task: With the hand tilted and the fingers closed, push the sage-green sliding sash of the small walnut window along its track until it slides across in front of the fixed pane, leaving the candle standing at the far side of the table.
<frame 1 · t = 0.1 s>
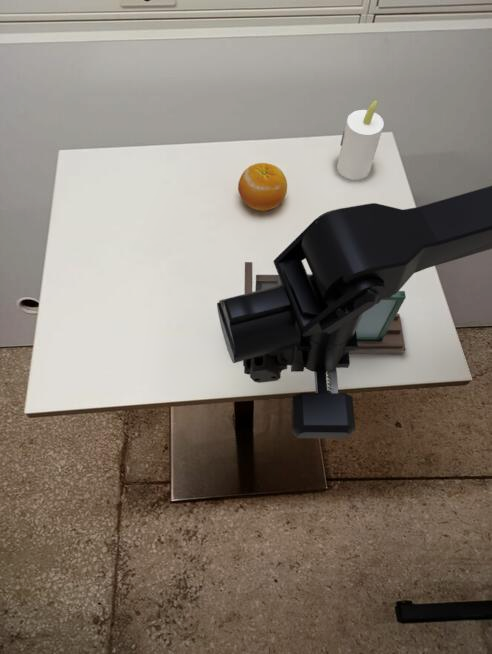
hand: (309, 380, 62), 12 cm above the table, tool pointing down, fingers open, 9 cm apart
fruit: (262, 200, 92), on the table
window frame: (320, 336, 79), on the table
candle: (352, 168, 96), on the table
sash: (364, 318, 71), point 8 cm above the table, slide at 0.0 cm
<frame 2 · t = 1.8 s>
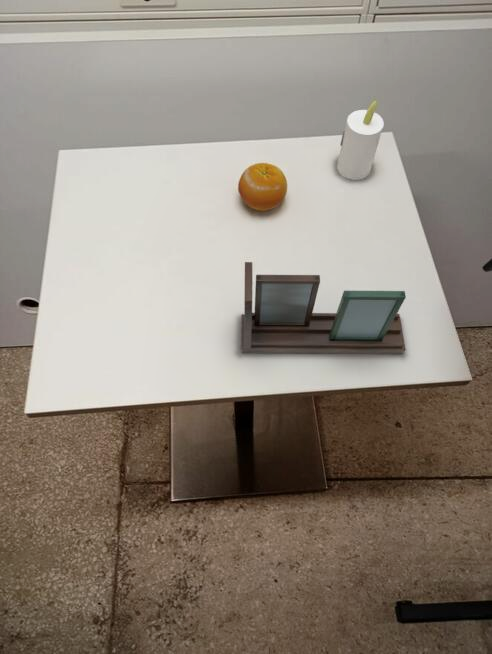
hand: (491, 298, 66), 14 cm above the table, tool tilted 45°, fingers open, 9 cm apart
nothing on the table moved.
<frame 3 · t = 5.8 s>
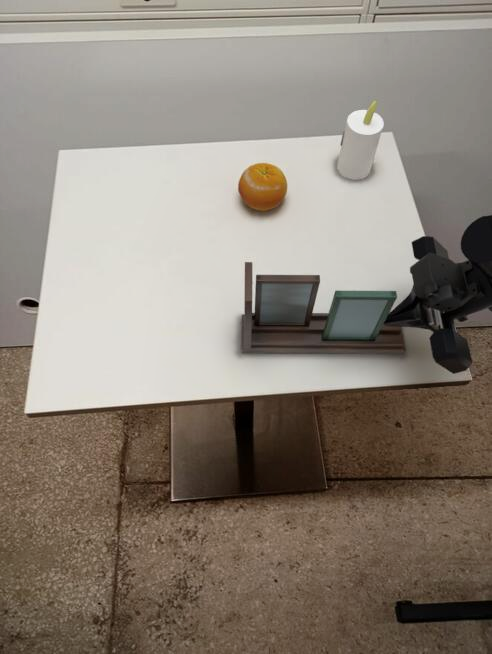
hand: (384, 322, 72), 7 cm above the table, tool tilted 45°, fingers closed, pressing on sash
sash: (356, 317, 71), point 8 cm above the table, slide at 1.1 cm, touching gripper
everything else where it was.
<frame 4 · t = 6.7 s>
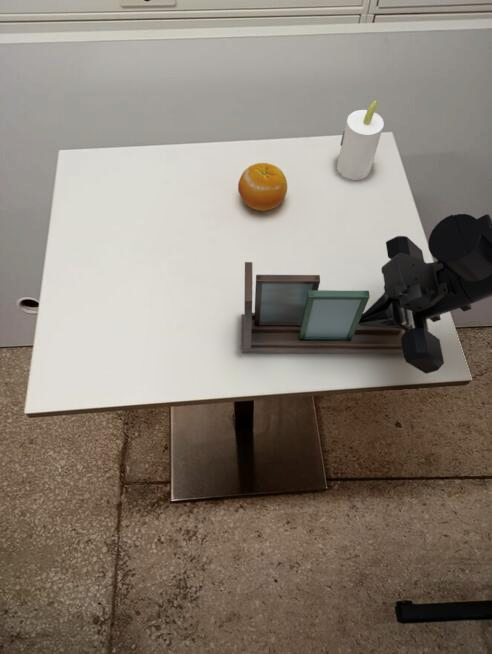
hand: (359, 322, 72), 7 cm above the table, tool tilted 45°, fingers closed, pressing on sash
sash: (331, 317, 71), point 8 cm above the table, slide at 4.7 cm, touching gripper
everything else where it was.
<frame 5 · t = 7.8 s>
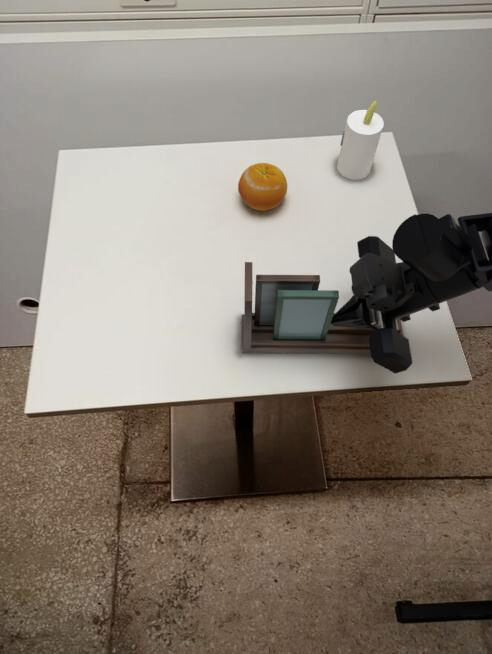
hand: (331, 322, 72), 7 cm above the table, tool tilted 45°, fingers closed
sash: (303, 317, 71), point 8 cm above the table, slide at 8.7 cm
everything else where it was.
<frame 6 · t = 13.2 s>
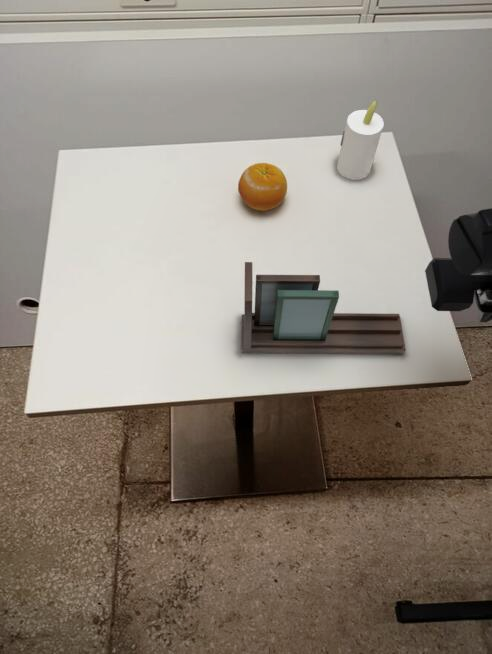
hand: (481, 319, 65), 13 cm above the table, tool pointing down, fingers closed
nothing on the table moved.
at the end: sash slide at 8.7 cm; candle tilted 0° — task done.
